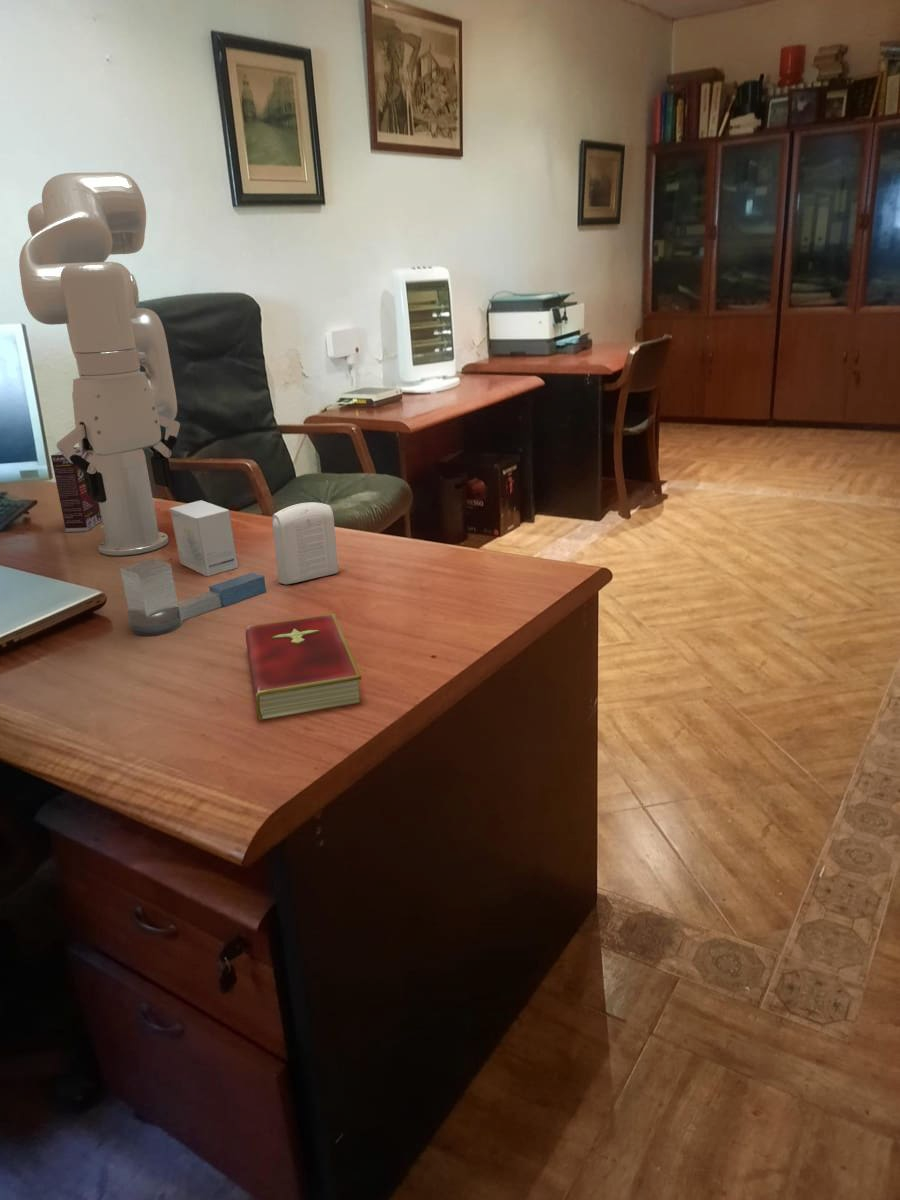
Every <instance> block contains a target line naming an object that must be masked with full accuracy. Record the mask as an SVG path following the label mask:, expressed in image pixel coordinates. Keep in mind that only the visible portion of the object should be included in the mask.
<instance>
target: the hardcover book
mask: <svg viewBox="0 0 900 1200" xmlns="http://www.w3.org/2000/svg"><path fill="white" fill-rule="evenodd" d="M245 643H246V650H247V656H248V663H249V670H250V677H251V682H252V690H253V696H254V703H255V709H256V714H257V717H258V720H259V722H263V721H264V719H265V720H266V719H271V718H277V717H283V716H288V715H289V716H290V715H295V714H301V713H302V714H303V713H306V712H307V713H308V712H312V711H319V710H326V709H330V708H336V707H342V706H348V705H353V704H358V703H359V704H360V691H359V680H362V675H361V674H360V671H359V668H358V666H357V664H356V661H355V659H354V656H353V654H352V652H351V650H350V648H349V645H348V643H347V640H346V638H345V635H344V633H343V631H342V628H341V626H340V623H339V622H338V619H337V616H336V614H335V613H333V612H332V613H327V614H320V615H314V616H306V617H301V618H299V617H298V618H291V619H285V620H279V621H272V622H265V623H257V624H250V625H247V626H246V628H245Z"/></svg>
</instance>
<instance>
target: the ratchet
mask: <svg viewBox="0 0 900 1200" xmlns="http://www.w3.org/2000/svg"><path fill="white" fill-rule="evenodd" d="M208 588H209V591H207V592H204V593H201V594H199V595H195V596H193V597H190V598H186V599H184V600H181V601H177V603H178V607H176V608H173V609H170V610H167V611H164V612H161V613H158V614H156V615H153V616H150V617H145V616H142V615H139V614H137V613H134V612H132V611H129V610H128V609H127V617H128V621H129V627H130V631H131V633H132V634H133V635H135V636H138V637H151V636H161V635H164V634H168V633H170V632H173V631H175V630H177V629H178V628H180V626H181V625H182V622H183V621H185V620H186V621H187V620H189V619H191V618H193V617H196V616H199V615H202V614H204V613H208V612H210V611H214V610H215V609H219V608H221V607H227V606H230V605H232V604H235V603H238V602H242V601H244V600H247V599H250V598H252V597H255V596H258V595H260V594H264V593H266V592H267V586H266V581H265V575H263V574H259V573H255V572H249V573H246V574H243V575H241V576H237V577H234V578H232V579H228V580H225V581H222V582H219V583H217V584H213V585H210V586H208Z"/></svg>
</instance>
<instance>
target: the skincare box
mask: <svg viewBox="0 0 900 1200" xmlns="http://www.w3.org/2000/svg"><path fill="white" fill-rule="evenodd" d="M169 511H170V517H171V520H172V525H173V532H174V536H175V542H176V548H177V553H178V558H179V563H180V565H182V566H185V567H187V568H189V569H190V570H192V571H195V572H197V573H199V574H201V575H203V576H205V577H209V576H212V575H216V574H217V575H218V574H219V573H220V574H221V573H223V572H227V571H230V570H234V569H238V568H239V562H238V557H237V552H236V546H235V542H234V541H235V540H234V533H233V527H232V520H231V519H232V518H231V514H230V513H231V511H230V510H229V509H227V508H224V507H222V506H219V505H216V504H213V503H210V502H207V501H204V500H202V499H201V500H196V501H193V502H189V503H184V504H181V505H176V506H173V507H170V508H169Z"/></svg>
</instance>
